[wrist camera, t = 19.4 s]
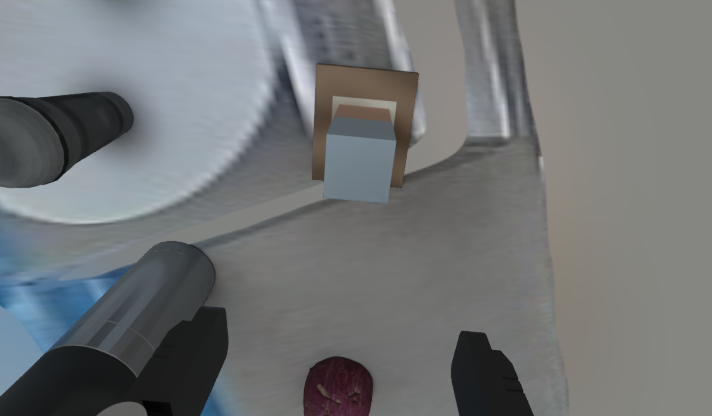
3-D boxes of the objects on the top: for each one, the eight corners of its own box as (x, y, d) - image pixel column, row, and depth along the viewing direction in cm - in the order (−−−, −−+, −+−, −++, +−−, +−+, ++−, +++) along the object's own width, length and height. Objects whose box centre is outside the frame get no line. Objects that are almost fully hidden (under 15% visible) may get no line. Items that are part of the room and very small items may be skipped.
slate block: (385, 176, 34) (387, 203, 29) (331, 170, 34) (323, 197, 29) (392, 121, 32) (396, 140, 27) (334, 116, 32) (326, 134, 27)
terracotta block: (382, 156, 40) (384, 176, 34) (336, 151, 40) (330, 171, 34) (388, 108, 38) (391, 122, 32) (339, 104, 38) (333, 116, 32)
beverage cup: (73, 128, 41) (-160, 205, 23) (82, 65, 38) (-175, 97, 20) (138, 157, 42) (-35, 252, 24) (152, 97, 39) (-32, 156, 21)
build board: (401, 183, 42) (402, 188, 41) (313, 175, 42) (311, 180, 41) (417, 72, 37) (419, 74, 36) (317, 63, 37) (315, 64, 36)
